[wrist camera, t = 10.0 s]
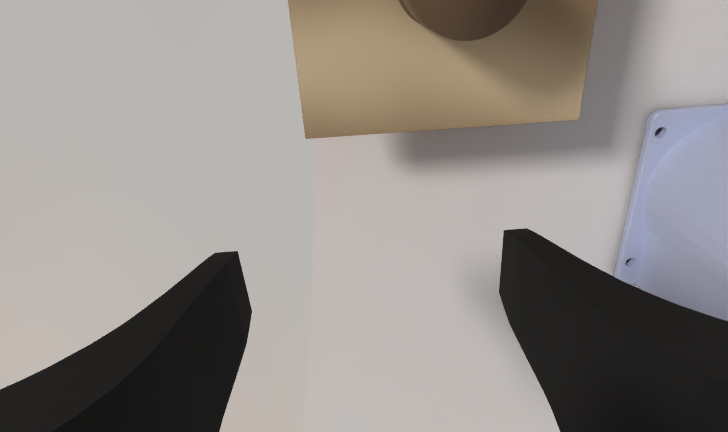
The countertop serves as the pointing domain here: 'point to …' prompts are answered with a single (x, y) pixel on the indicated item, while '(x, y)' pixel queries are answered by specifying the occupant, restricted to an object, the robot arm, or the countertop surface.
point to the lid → (438, 63)
